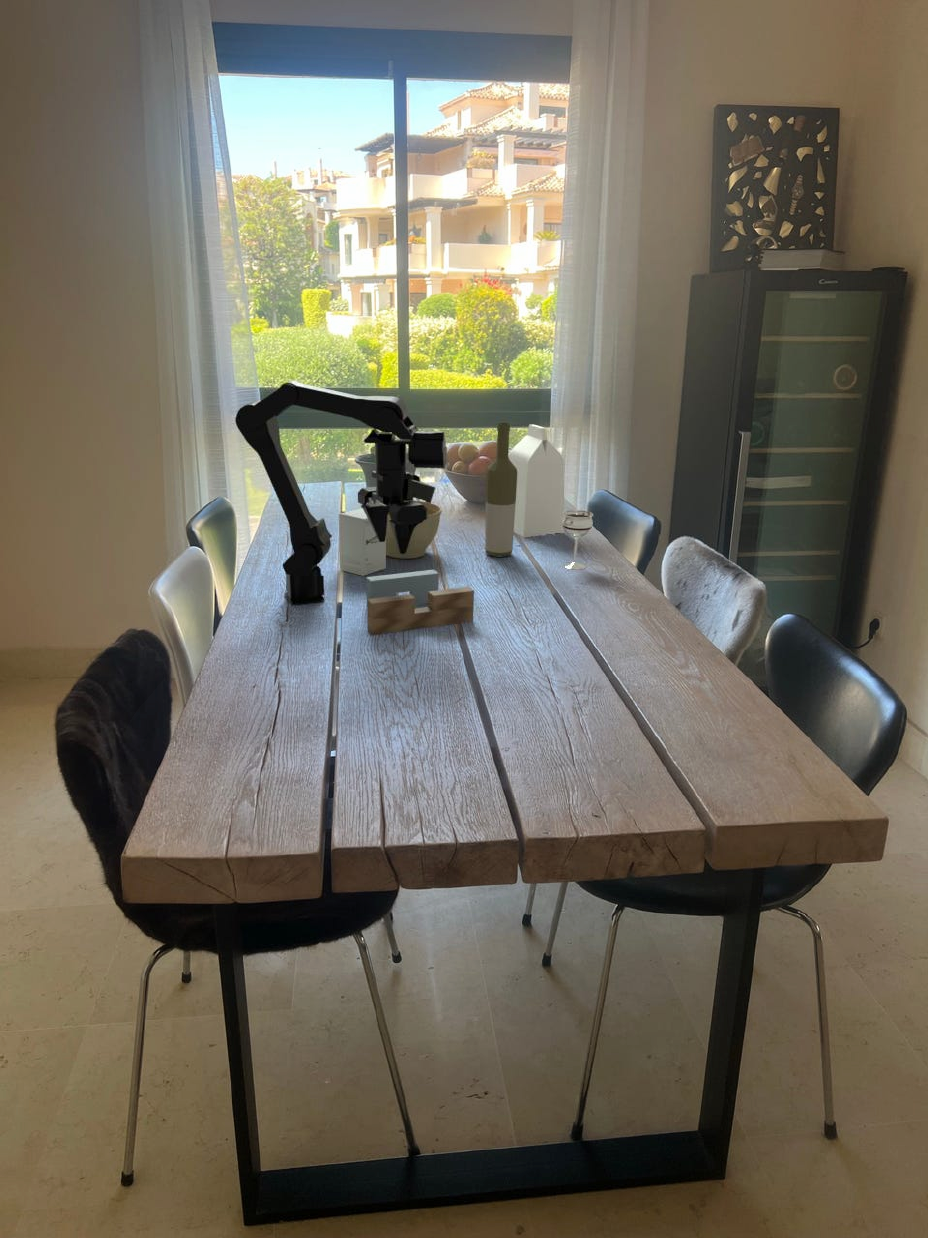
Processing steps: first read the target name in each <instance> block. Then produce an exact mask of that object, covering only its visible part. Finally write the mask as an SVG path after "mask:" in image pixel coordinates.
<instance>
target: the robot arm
mask: <svg viewBox="0 0 928 1238" xmlns="http://www.w3.org/2000/svg"><path fill="white" fill-rule="evenodd" d="M292 406H297V407H301V408H305V409H310V410H315V411H320V412H325V413H329V414H333V415H339V416H343V417H347V418H352V419H354V420H356V421H358V422H361V423H362V424H364V425H365V426H368V427H371V428H373V429H371V432H370V433H369V435H368V436H366V437H365V438H364V439H363V443H365V444H374V449H375V451H374V452H375V453H374V454H375V455H374V456H375V462H374V463H375V470H373V471H371V477H372V478H374V479H375V486H371V487H370V486H369V487H361V489H360V490H359V491H358V492H357V503H359V504H361V505H360V507H361V508H363V510H364V512H365V514H366V516H367V518H368V520H369V522H370V524H371V525H372V528H373V530H374V532H375V534H376V536H377V538H378V540H379V542H384V541H385V537H386V528H387V517H388V513H389V515H390V518H391V520H389V522H390V525H391V528H392V531H393V534H394V538H395V541H396V544H397V547H398V550H399V552H400V554H405V553H406V551H407V548H408V545H409V542H410V538H411V535H412V533H413V530H414V528H415V527H416V526H417V525H418V524H419V523H422V522H423V521H424V520H427V519H428V509H427V508H426V507H425V506H424V505H423V504H421V503H418V502H416V501H417V500H420V501H423V502H428V503H432V502H433V501H432V500H433V496H434V493H435V491H436V487H435V486H433V485H430V484H429V483H425V482H422V481H421V478H420V476H419V475H416V474H415V473H411V472H409V471H407V459H408V463H410V464H411V465H413V467H414V468H416V469H418V468H419V469H444V470H445V469H446V467H447V461H448V459H447V457H448V456H447V455H448V446H446V444H447V443H446V436H445V435H446V434H445V432H446V431H444V430H436V431H435V430H434V431H422V430H421V431H419V429H418V427H417V426H416V425H415V424H414V422H413V421H412V419H411V418H410V416H409V415H408V408H407V406H406V404H405V402H404V401H403V400H402V399H401V398H399V397H397V396H387V395H386V396H385V395H368V396H365V395H356V394H351V393H347V392H342V391H338V390H333V389H328V388H325V387H319V386H315V385H311V384H306V383H302V382H299V381H297V380H289V381H287V382H285V383H283V384H281V385H280V387H279V388H277V389H276V390H275V391H273V392H272V393H270V394H269V395H268V396H266V397H264V398H263V399H262V400H254V401H251V402H249V403H247V404H245V405H243V406H242V407H240V408H239V410H237V412H236V416H235V419H234V421H235V425H236V427H237V429H238V431H239V433H240V434H241V435H242V437H243V439H244V440H245V441H246V443H247V444H248V445H249V446H250V447H251V448H252V449H253V451H255V452H256V453H257V455H258V456H259V458H260V461H261V463H262V465H263V468H264V469H265V472H266V475H267V476H268V478H269V481H270V483H271V486H272V488H273V490H274V493H275V494H276V497H277V500H278V502H279V504H280V506H281V509H282V510H283V513H284V515H285V517H286V520H287V522H288V526H289V539H290V544H291V548H292V554H291V555H290V556H289V557H288V558H287V559H285V561H284V562H283V563H282V567H283V570H284V574H285V579H286V592H284V596H285V598H286V599H287V600H288V602H290V604H291V605H301V604H310V603H318V602H324V601H325V597H324V595H325V577H324V575H323V574H322V571H321V570H322V569H321V568H320V567H319V566H318V565H319V564H320V562H321V561H322V560H323V559H324V558H325V557H326V555H327V554H328V553H329V551H330V549H331V546H332V544H331V543H332V542H331V538H332V537H333V536H332V534H331V533H330V531H329V530H328V527H327V524H326V521H325V519H324V517H322V518H321V519H319V520H317V519H316V518H315V517H314V515H312V513H311V512H310V510H309V508H308V505H307V503H306V501H305V499H304V496H303V494H302V491H301V489H300V486H299V484H298V482H297V480H296V478H295V475H294V473H293V470H292V468H291V466H290V464H289V461H288V459H287V456H286V454H285V452H284V449H283V447H282V445H281V444H282V443H281V437H280V436H281V434H280V426H279V422H278V418H277V417H278V416H280V415H281V414H283V413H284V412H285V411H287V410H288V409H289V408H290V407H292ZM407 446H408V448H407ZM407 454H408V455H407ZM407 457H408V458H407ZM414 498H415V499H417V500H414ZM413 500H414V501H413ZM404 501H410V502H404ZM361 508H360V509H361Z"/></svg>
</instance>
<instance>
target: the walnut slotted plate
mask: <svg viewBox="0 0 928 1238" xmlns="http://www.w3.org/2000/svg"><path fill="white" fill-rule="evenodd" d="M474 601H475V590H474V589H473V588H472V587H470V586H462V587H455V588H453V587H452V588H445V589H438V590H437V591H429V592H428V604H427V606H424V607H416V605H415V598H414V597H413V596H412V595H410V594H409V593H406V594H399V595H397V594H396V596H389V597H381V598H373V599H367V598H366V607H367V608H366V609H367V631H368V633H370V635H372V636H375V635H383V634H389V633H397V632H402V631H403V632H404V631H409V630H419V629H424V628H425V629H426V628H431V627H432V628H433V627H438V626H445V625H453V624H459V623H460V624H461V623H467V621H469V622H473V621H474V610H475V609H474V604H475V603H474Z"/></svg>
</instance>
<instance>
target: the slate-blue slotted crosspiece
mask: <svg viewBox="0 0 928 1238" xmlns="http://www.w3.org/2000/svg"><path fill="white" fill-rule="evenodd" d="M439 576H440V575H439V572H437V571H436V570H435V569H427V570H420V571H419V570H418V571H412V572H411V571H409V572H402V573H401V572H400V573H394V574H384V575H375V576H374V575H373V576H366V600H367V599H373V598H381V597H389V596H397V594H398V593H399V594H400V593H406V592H408V594H410V595H412V596H413V597H414V598H415V606H420V605H428V592H429V591H437V590H439V584H440V583H439V580H440V579H439Z"/></svg>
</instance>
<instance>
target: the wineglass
mask: <svg viewBox="0 0 928 1238" xmlns="http://www.w3.org/2000/svg"><path fill="white" fill-rule="evenodd" d="M563 514H564V518H563V520H562V526H563V529H564V532H566V534H568V535H569V536H571V537H572V538H573V539H574V542H573V543H574V547H573V548H574V550H573V551H574V554H573V562H566V563H564V564H563V565H564V566H563V567H564V568H567V569H569V570H584V569H585V568H586V567H587V566H586V565H585V564H583V563H580V562H576V561H577V552H578V542H579V539H581V538H582V537H584V536H586V535H587V534H589V532H591V530H592V528H593V526H594V525H593V524H594V522H593V519H592V517H594V514H593V512H591V511H588V510H587V511H586V510H581V509H570V510H569V509H568V510H564V512H563Z"/></svg>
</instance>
